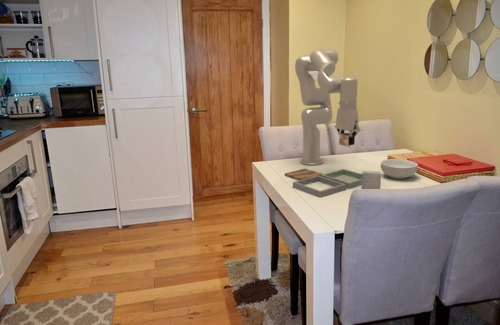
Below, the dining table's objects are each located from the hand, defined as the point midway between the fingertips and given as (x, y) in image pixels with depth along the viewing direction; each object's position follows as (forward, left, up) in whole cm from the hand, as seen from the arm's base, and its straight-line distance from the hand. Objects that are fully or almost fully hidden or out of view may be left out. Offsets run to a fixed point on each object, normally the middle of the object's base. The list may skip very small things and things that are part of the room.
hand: (346, 143), depth 176 cm
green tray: (0, 0, -18) cm, 18 cm away
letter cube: (0, 0, -1) cm, 1 cm away
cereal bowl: (+12, +24, -19) cm, 33 cm away
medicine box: (+17, -3, -19) cm, 26 cm away
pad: (-19, -10, -18) cm, 28 cm away
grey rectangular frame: (0, -18, -18) cm, 26 cm away
